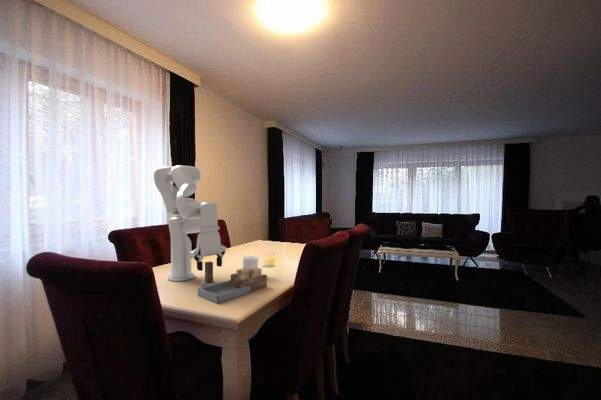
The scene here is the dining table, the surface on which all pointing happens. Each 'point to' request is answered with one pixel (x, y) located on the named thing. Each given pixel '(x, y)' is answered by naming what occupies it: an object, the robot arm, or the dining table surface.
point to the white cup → (250, 262)
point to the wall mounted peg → (208, 275)
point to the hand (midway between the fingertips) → (209, 268)
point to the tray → (222, 292)
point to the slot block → (250, 282)
